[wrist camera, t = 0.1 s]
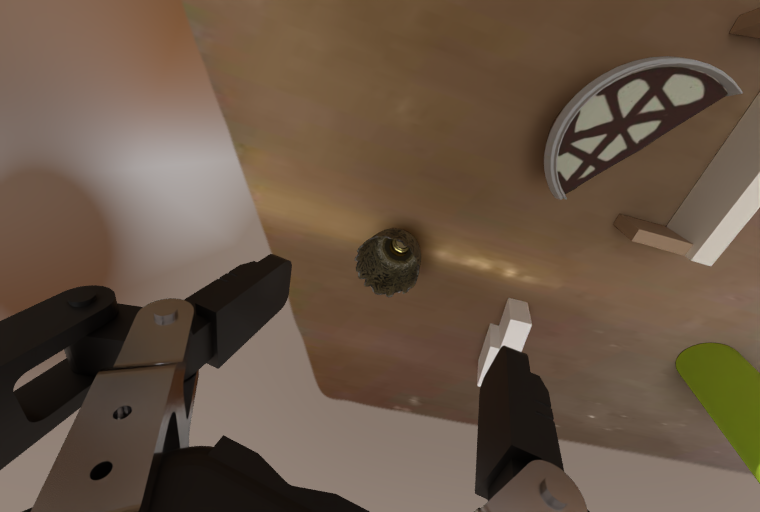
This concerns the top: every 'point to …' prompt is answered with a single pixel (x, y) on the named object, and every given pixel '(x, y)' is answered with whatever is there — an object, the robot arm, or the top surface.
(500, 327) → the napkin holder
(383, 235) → the cup
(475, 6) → the top surface
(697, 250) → the back stop bracket
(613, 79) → the food container
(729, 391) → the soap dispenser
